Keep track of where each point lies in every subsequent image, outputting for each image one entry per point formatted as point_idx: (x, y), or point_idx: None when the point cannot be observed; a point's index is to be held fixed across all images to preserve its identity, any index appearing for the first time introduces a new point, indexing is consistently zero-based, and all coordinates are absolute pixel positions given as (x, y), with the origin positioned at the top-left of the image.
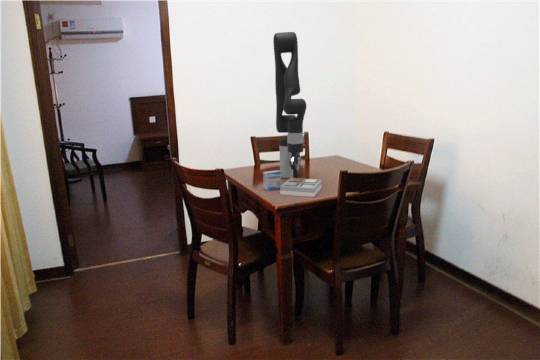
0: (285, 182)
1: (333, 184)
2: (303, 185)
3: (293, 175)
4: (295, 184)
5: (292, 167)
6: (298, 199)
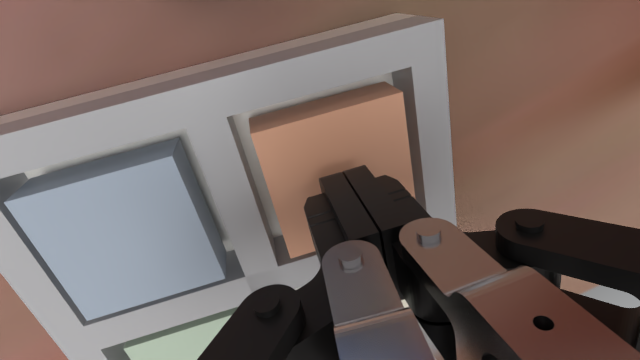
0: (169, 103)
1: None
2: (205, 334)
3: (325, 193)
4: (116, 305)
5: (264, 351)
6: (8, 343)
